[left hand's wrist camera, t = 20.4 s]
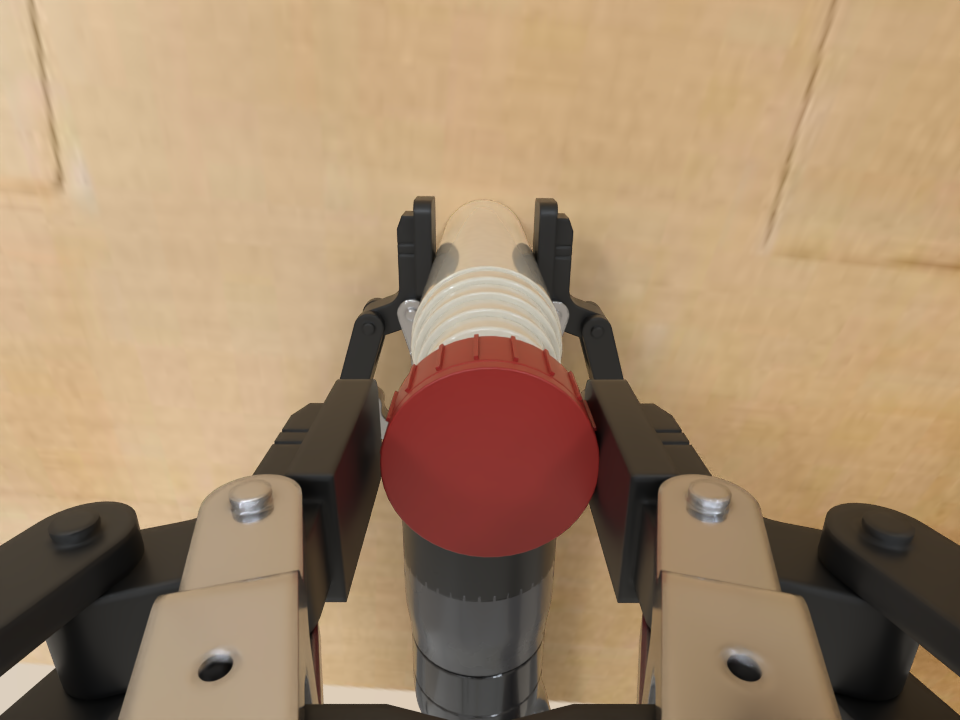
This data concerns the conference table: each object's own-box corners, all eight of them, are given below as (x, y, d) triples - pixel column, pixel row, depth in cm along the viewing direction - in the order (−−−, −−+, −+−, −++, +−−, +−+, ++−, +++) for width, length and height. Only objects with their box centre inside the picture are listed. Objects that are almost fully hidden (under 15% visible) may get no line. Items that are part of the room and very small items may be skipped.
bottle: (432, 267, 31) (350, 513, 11) (457, 188, 29) (411, 314, 10) (508, 292, 31) (555, 568, 12) (536, 215, 30) (640, 386, 10)
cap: (627, 398, 12) (649, 438, 10) (514, 537, 13) (518, 592, 11) (458, 292, 11) (455, 320, 9) (354, 451, 12) (337, 498, 11)
